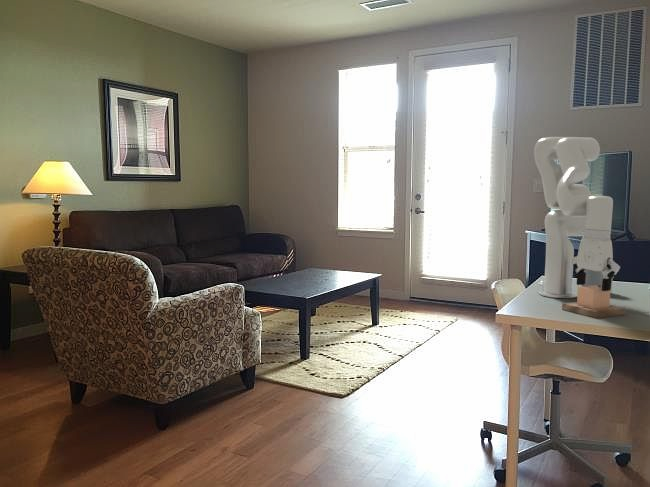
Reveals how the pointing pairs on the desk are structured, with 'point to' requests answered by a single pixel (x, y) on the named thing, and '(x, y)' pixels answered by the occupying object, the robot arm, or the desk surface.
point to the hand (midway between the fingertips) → (593, 287)
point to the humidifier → (593, 278)
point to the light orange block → (593, 296)
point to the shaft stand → (593, 310)
